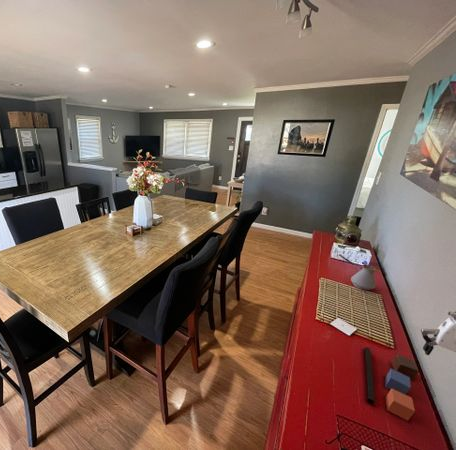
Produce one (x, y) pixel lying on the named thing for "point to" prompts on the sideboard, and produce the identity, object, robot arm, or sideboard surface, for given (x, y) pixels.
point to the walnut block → (405, 366)
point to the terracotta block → (400, 404)
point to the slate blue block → (397, 381)
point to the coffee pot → (363, 276)
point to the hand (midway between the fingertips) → (445, 359)
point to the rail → (369, 376)
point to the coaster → (343, 326)
